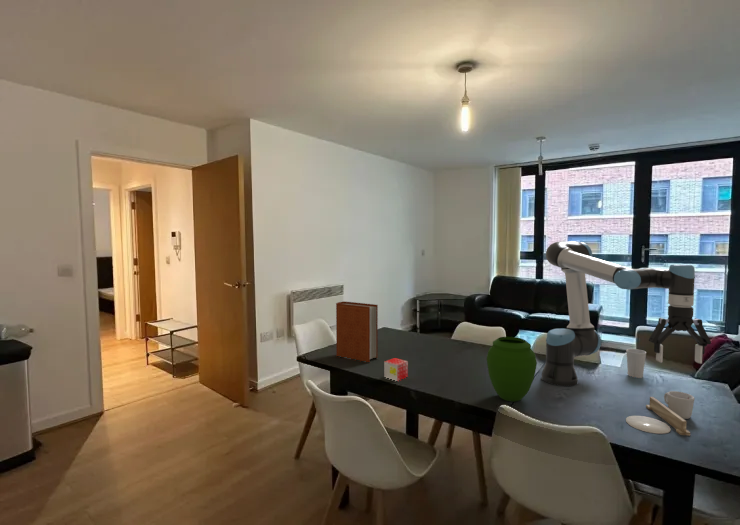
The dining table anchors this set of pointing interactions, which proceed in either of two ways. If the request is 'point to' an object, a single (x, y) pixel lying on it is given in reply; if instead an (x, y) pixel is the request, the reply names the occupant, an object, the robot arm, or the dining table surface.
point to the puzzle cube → (396, 369)
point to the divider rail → (668, 416)
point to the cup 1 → (635, 362)
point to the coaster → (648, 424)
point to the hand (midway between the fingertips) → (678, 362)
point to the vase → (511, 367)
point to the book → (357, 330)
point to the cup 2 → (680, 403)
